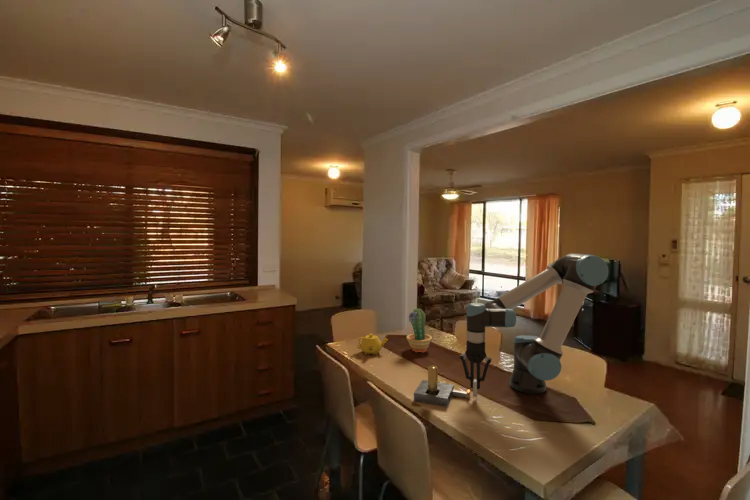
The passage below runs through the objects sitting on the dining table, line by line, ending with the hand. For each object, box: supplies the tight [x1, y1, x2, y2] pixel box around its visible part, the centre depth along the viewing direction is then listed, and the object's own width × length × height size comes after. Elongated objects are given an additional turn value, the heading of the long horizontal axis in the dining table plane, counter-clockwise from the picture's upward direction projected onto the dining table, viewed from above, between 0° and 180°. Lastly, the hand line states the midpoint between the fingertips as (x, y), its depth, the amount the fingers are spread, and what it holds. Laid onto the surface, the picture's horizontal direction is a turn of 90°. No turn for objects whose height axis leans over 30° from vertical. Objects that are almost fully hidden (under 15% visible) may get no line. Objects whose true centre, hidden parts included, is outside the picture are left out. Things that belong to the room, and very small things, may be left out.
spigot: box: [427, 365, 439, 395], centre depth 146 cm, size 4×4×14 cm
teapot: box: [357, 333, 389, 356], centre depth 204 cm, size 14×14×11 cm
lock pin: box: [452, 389, 471, 400], centre depth 150 cm, size 13×3×3 cm, turn 67°
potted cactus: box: [406, 308, 433, 353], centre depth 207 cm, size 15×15×25 cm
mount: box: [413, 379, 455, 408], centre depth 149 cm, size 14×14×4 cm
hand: (475, 395), depth 146 cm, fingers closed
